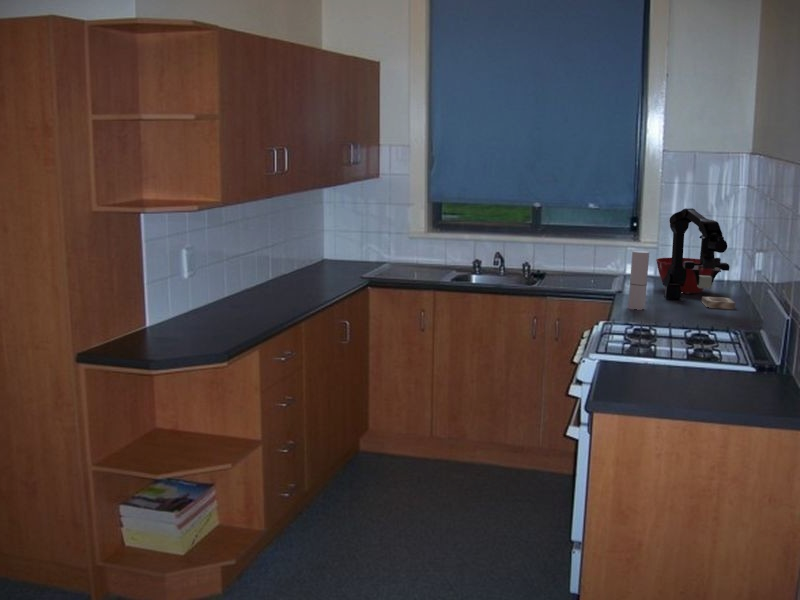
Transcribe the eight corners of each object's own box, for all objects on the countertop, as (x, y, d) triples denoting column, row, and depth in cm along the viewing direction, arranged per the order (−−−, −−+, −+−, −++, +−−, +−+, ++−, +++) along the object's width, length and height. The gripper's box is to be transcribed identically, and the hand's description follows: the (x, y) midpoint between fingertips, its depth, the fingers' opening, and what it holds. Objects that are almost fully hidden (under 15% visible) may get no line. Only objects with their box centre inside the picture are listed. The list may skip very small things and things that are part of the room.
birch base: (706, 307, 399) (707, 300, 399) (701, 302, 411) (702, 296, 410) (734, 309, 398) (735, 302, 397) (728, 304, 409) (729, 297, 409)
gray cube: (699, 288, 391) (700, 276, 390) (697, 286, 396) (698, 275, 395) (711, 288, 390) (712, 277, 389) (708, 286, 395) (709, 275, 394)
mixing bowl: (649, 293, 433) (652, 261, 430) (657, 285, 459) (659, 255, 456) (711, 299, 422) (714, 266, 419) (715, 290, 448) (718, 259, 445)
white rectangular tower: (643, 307, 396) (647, 251, 391) (645, 310, 389) (650, 253, 384) (626, 306, 396) (631, 250, 392) (629, 309, 389) (633, 252, 385)
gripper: (688, 251, 383) (685, 287, 386) (734, 253, 381) (730, 289, 384) (684, 248, 394) (681, 282, 397) (728, 250, 392) (724, 285, 394)
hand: (704, 285), depth 393 cm, fingers closed on gray cube, 5 cm apart
